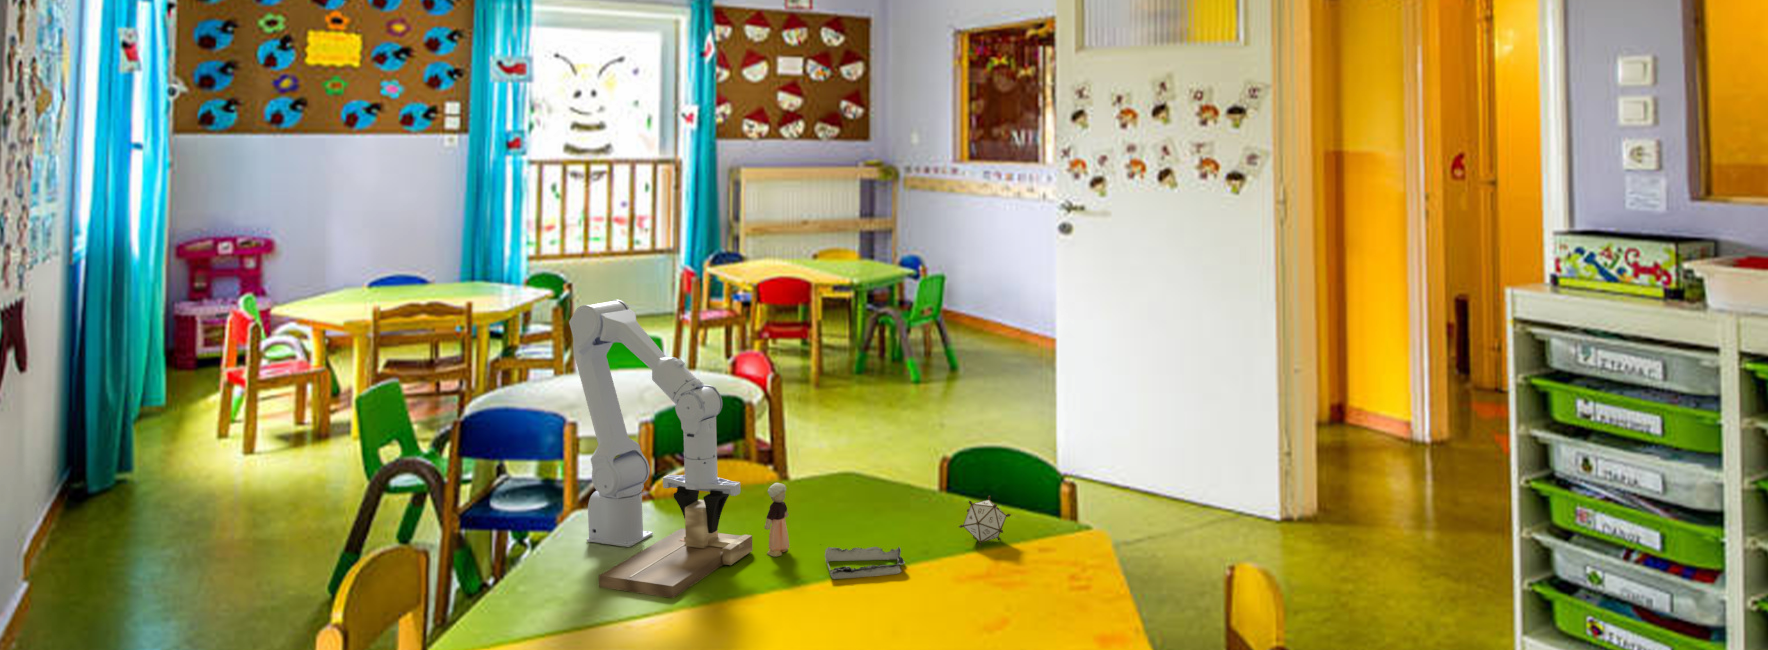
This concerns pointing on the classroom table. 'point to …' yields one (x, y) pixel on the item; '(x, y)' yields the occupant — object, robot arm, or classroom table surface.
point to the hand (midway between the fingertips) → (702, 530)
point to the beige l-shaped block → (712, 535)
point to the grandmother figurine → (777, 521)
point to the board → (665, 567)
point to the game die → (984, 520)
